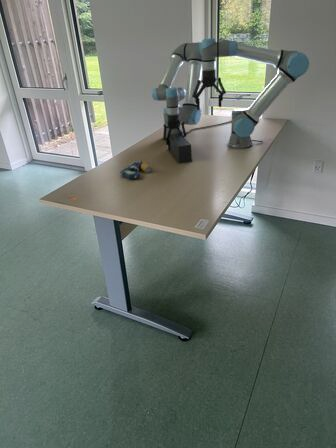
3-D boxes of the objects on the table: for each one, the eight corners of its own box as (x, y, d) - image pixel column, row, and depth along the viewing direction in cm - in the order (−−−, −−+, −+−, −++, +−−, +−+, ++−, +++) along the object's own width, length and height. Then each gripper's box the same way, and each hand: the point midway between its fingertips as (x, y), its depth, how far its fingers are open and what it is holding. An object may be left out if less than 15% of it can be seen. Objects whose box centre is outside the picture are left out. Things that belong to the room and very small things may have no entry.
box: (168, 149, 227) (167, 134, 222) (179, 147, 229) (178, 132, 223) (179, 163, 204) (178, 146, 199) (191, 161, 205) (191, 144, 200)
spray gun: (156, 167, 200) (135, 165, 206) (156, 160, 198) (134, 158, 204) (139, 182, 185) (117, 179, 191) (138, 174, 183) (115, 172, 189)
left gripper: (158, 117, 208) (161, 152, 219) (190, 112, 211) (191, 147, 223) (155, 114, 214) (159, 149, 226) (187, 110, 217) (188, 144, 229)
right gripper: (189, 72, 184) (191, 112, 195) (231, 67, 189) (231, 106, 200) (185, 71, 191) (187, 109, 202) (226, 66, 195) (226, 104, 206)
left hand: (175, 148), depth 224 cm, fingers closed on box, 8 cm apart
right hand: (209, 108), depth 201 cm, fingers open, 13 cm apart
